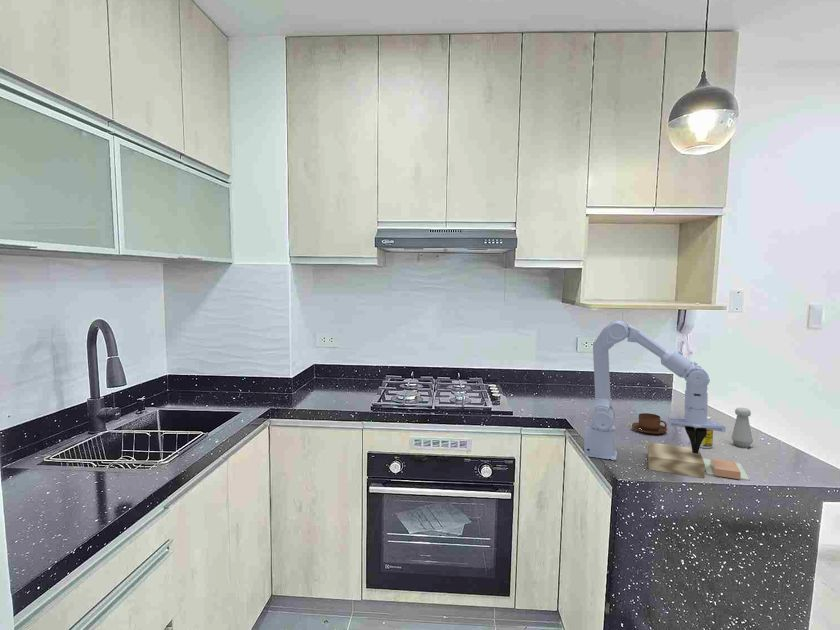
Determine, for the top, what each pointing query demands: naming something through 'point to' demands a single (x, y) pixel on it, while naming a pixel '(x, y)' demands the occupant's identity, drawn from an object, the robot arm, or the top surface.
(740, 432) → the salt shaker
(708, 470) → the sage mat
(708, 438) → the supplement bottle
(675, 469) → the oak board
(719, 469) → the terracotta tile
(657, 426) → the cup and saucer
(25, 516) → the top surface
